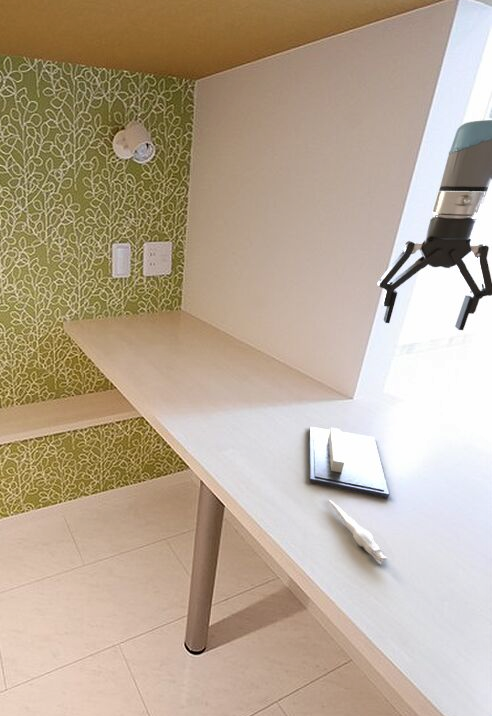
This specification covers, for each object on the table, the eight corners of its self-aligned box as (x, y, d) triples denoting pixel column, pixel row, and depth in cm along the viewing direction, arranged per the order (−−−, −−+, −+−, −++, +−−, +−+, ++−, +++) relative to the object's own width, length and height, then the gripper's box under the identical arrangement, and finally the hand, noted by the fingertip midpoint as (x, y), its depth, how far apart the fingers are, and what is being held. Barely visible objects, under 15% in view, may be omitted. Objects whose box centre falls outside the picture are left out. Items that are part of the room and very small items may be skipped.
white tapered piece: (390, 565, 67) (394, 556, 66) (375, 568, 66) (378, 559, 66) (334, 502, 80) (336, 494, 79) (321, 504, 80) (323, 496, 79)
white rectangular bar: (337, 435, 100) (339, 426, 99) (341, 472, 87) (344, 462, 86) (328, 433, 101) (330, 424, 100) (331, 470, 87) (333, 460, 86)
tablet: (373, 440, 100) (374, 436, 100) (388, 498, 81) (389, 493, 81) (309, 430, 104) (310, 425, 104) (309, 482, 86) (310, 477, 85)
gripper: (385, 215, 83) (359, 323, 92) (542, 220, 76) (498, 336, 85) (379, 213, 89) (356, 314, 99) (524, 218, 82) (484, 326, 91)
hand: (421, 325), depth 92 cm, fingers open, 13 cm apart
